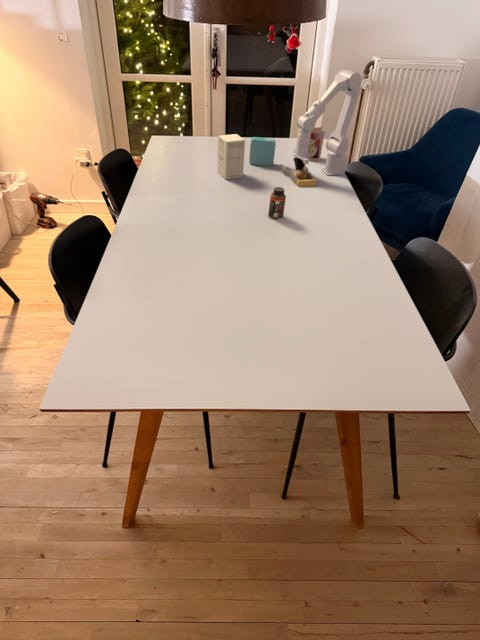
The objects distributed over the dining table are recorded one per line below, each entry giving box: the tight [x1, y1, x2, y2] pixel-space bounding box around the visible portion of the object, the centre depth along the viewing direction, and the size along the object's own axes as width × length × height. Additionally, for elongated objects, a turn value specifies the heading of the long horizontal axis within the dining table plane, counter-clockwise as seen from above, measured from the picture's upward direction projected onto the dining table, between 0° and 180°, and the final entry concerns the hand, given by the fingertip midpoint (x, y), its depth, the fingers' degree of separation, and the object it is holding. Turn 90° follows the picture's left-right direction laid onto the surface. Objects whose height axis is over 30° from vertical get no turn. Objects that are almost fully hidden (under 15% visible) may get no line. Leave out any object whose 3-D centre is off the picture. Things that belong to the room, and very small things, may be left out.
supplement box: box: [217, 133, 246, 180], centre depth 197 cm, size 10×9×17 cm
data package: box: [248, 136, 276, 167], centre depth 213 cm, size 12×4×12 cm, turn 87°
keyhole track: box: [279, 163, 317, 187], centre depth 205 cm, size 21×12×2 cm, turn 15°
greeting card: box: [308, 126, 326, 163], centre depth 223 cm, size 11×7×15 cm, turn 77°
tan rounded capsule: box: [295, 169, 307, 180], centre depth 202 cm, size 5×5×4 cm
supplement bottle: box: [267, 186, 287, 220], centre depth 168 cm, size 6×6×11 cm
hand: (298, 174), depth 206 cm, fingers closed
